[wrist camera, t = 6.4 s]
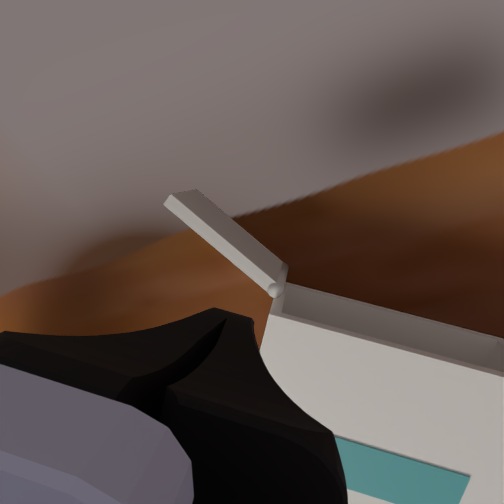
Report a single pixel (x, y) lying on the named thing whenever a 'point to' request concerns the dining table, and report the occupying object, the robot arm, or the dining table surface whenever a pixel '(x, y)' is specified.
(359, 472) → the carton
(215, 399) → the robot arm
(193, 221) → the flap
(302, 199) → the dining table surface
